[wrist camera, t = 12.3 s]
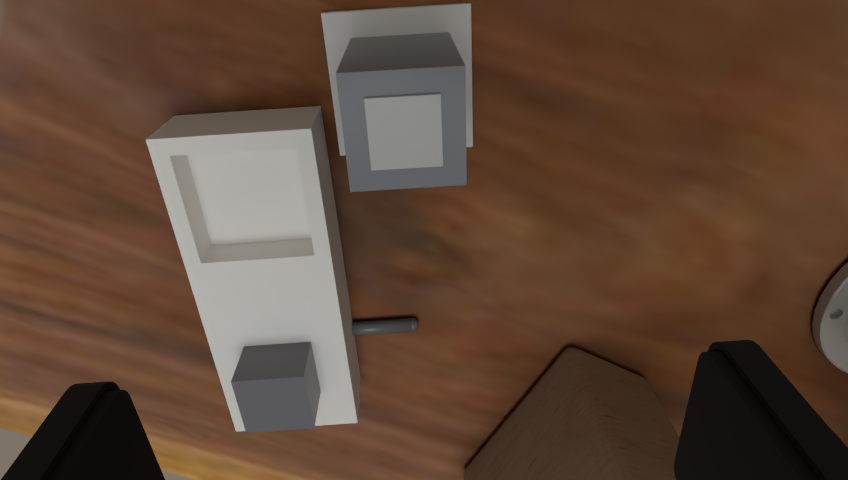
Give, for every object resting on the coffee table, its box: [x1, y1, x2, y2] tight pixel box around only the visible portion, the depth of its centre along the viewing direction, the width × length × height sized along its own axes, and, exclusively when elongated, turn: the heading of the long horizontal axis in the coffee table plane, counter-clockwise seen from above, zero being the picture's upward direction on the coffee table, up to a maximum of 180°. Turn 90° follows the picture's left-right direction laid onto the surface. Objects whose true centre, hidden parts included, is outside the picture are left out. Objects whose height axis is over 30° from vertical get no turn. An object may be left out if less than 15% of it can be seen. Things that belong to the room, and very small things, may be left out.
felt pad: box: [321, 3, 473, 156], centre depth 30 cm, size 8×8×1 cm
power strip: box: [146, 106, 419, 433], centre depth 32 cm, size 12×20×7 cm, turn 3°
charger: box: [336, 32, 467, 192], centre depth 26 cm, size 5×5×8 cm
